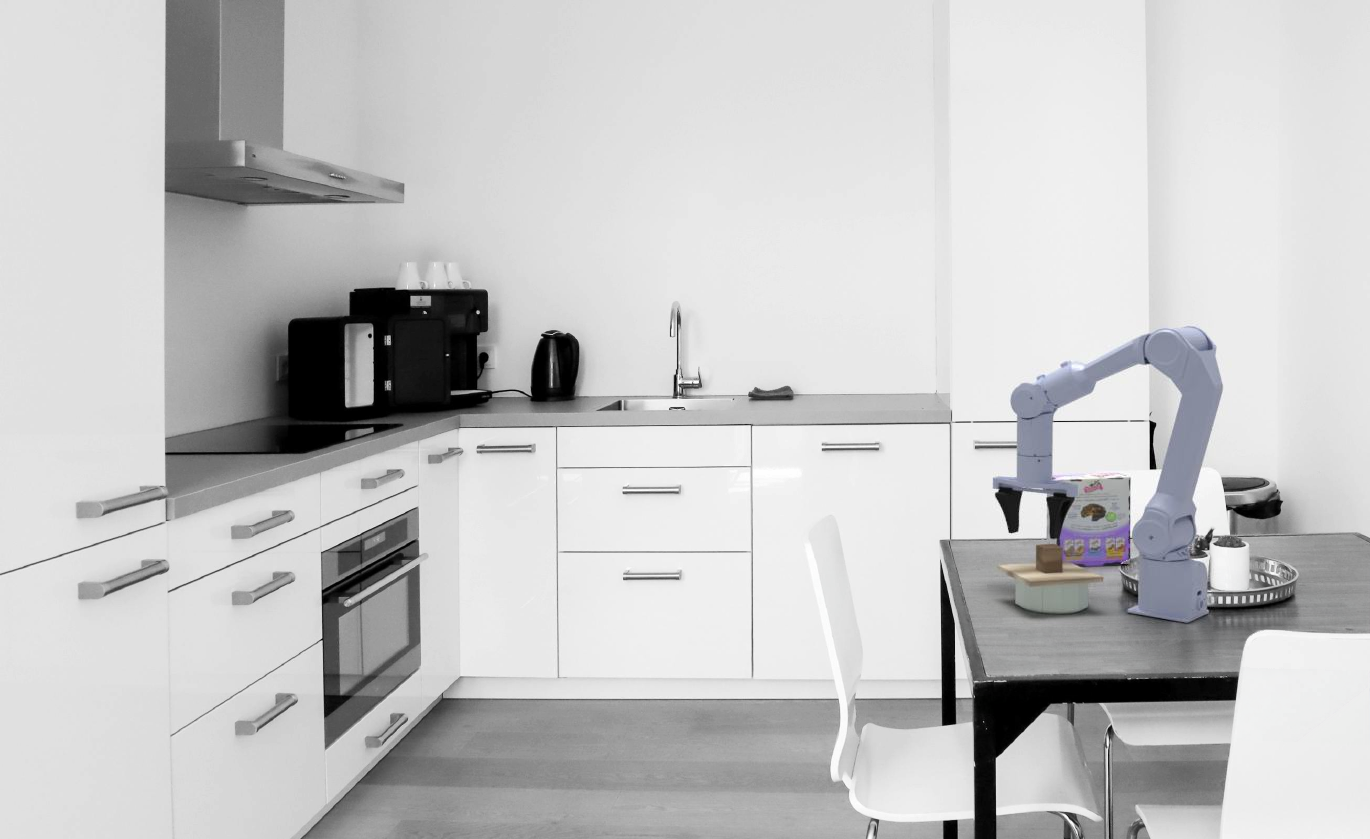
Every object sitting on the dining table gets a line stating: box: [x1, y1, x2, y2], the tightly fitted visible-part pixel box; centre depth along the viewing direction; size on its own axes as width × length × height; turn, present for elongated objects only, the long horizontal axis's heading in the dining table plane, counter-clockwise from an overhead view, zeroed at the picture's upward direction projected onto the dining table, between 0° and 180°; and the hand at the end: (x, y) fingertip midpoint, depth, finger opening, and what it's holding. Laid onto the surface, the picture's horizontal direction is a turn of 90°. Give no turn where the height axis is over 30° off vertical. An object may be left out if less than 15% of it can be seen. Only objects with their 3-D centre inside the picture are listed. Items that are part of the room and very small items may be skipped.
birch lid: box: [997, 543, 1104, 587], centre depth 186 cm, size 12×12×5 cm
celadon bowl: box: [1014, 579, 1089, 615], centre depth 187 cm, size 11×11×5 cm
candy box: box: [1046, 472, 1132, 567], centre depth 216 cm, size 14×6×16 cm, turn 92°
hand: (1033, 535), depth 196 cm, fingers open, 7 cm apart
